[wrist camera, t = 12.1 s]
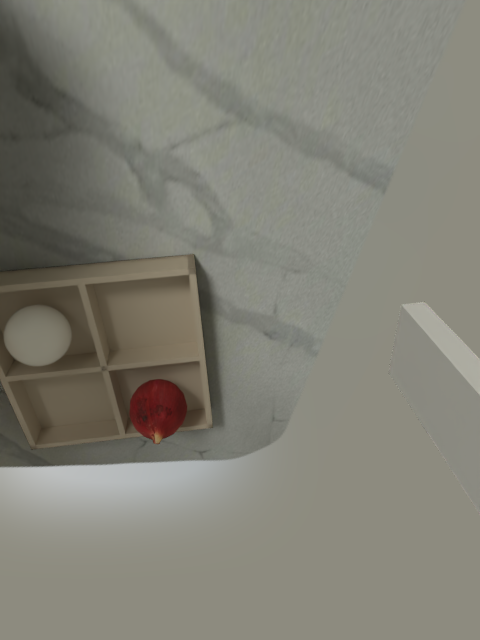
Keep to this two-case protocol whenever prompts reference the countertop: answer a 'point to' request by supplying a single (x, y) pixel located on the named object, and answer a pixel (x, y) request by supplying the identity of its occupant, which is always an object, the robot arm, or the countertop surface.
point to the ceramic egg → (37, 335)
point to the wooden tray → (107, 347)
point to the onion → (157, 409)
